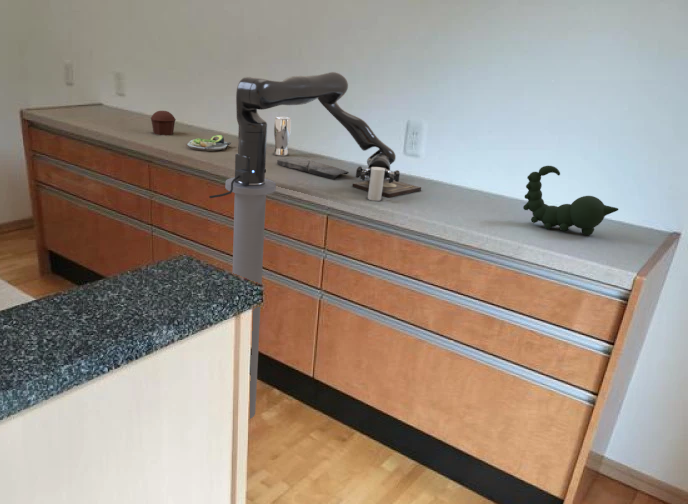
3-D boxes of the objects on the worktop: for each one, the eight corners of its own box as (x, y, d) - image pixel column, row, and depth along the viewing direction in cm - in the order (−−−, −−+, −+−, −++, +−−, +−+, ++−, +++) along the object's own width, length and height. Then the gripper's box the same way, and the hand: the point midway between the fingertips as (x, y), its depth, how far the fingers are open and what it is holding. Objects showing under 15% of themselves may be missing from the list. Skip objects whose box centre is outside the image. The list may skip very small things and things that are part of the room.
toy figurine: (518, 230, 180) (611, 242, 168) (526, 166, 173) (624, 173, 161) (524, 223, 188) (614, 234, 175) (532, 161, 181) (627, 168, 168)
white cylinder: (375, 201, 194) (379, 170, 190) (364, 198, 197) (368, 167, 193) (383, 199, 197) (387, 169, 193) (373, 196, 200) (377, 166, 196)
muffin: (146, 132, 282) (145, 109, 278) (166, 130, 289) (166, 108, 285) (159, 136, 274) (159, 113, 270) (180, 134, 281) (180, 112, 277)
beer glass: (291, 156, 252) (293, 119, 246) (275, 156, 250) (277, 118, 244) (285, 152, 258) (288, 116, 252) (270, 152, 256) (272, 116, 249)
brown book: (388, 197, 200) (388, 193, 199) (352, 186, 210) (352, 182, 210) (420, 190, 211) (421, 186, 211) (385, 180, 222) (385, 177, 221)
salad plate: (226, 154, 247) (226, 142, 245) (182, 150, 248) (182, 139, 246) (232, 145, 265) (233, 134, 263) (192, 142, 265) (192, 131, 264)
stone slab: (334, 174, 216) (275, 155, 234) (332, 182, 218) (275, 163, 236) (352, 171, 223) (294, 153, 241) (350, 179, 225) (293, 161, 243)
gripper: (359, 155, 209) (356, 164, 194) (401, 159, 207) (400, 169, 192) (357, 177, 212) (353, 187, 197) (398, 181, 210) (397, 192, 195)
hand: (376, 178), depth 195 cm, fingers open, 8 cm apart
